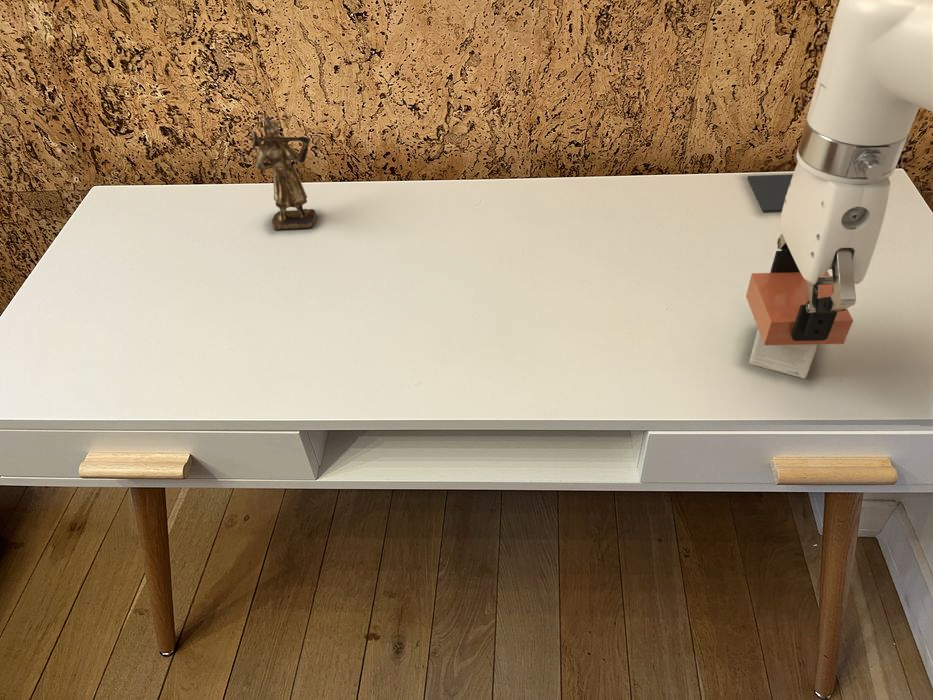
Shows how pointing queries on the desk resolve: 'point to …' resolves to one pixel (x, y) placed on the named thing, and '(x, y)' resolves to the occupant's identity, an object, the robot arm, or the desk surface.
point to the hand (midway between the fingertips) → (795, 309)
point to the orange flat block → (788, 308)
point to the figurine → (284, 176)
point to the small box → (783, 357)
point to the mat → (770, 191)
